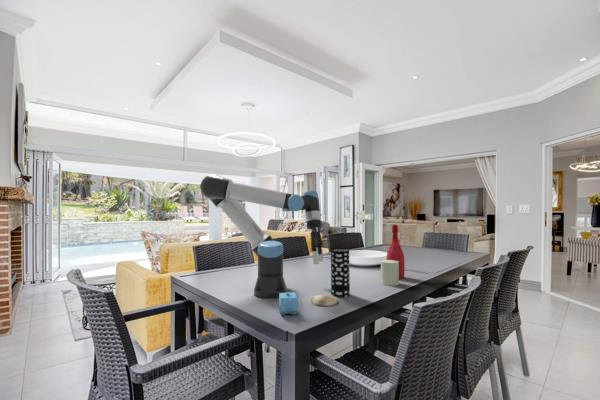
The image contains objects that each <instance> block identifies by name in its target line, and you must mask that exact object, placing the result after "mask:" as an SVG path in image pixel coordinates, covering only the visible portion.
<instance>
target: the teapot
mask: <svg viewBox="0 0 600 400" xmlns="http://www.w3.org/2000/svg"><path fill="white" fill-rule="evenodd" d="M278 303H279V306H278V307H279V312H280V314H281V315H282V316H285V315H286V314H287V315H288V314H291V315H294V316H295V315H296V314H298V296H297V294H296V292H290V291H287V292H286V293H279V297H278Z"/></svg>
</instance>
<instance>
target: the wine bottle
mask: <svg viewBox="0 0 600 400" xmlns="http://www.w3.org/2000/svg"><path fill="white" fill-rule="evenodd" d="M391 233H392V238H391V244H390V245H389V248H388V249H387V253H386V258H385V260H395V261H398V262H399V280H402V279H404V278H405V268H406V267H405V256H404V251H403V248H402V247H401V244H400V242H399V234H398V233H399V226H398V225H397V224H392V225H391Z"/></svg>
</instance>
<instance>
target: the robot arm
mask: <svg viewBox="0 0 600 400" xmlns="http://www.w3.org/2000/svg"><path fill="white" fill-rule="evenodd" d="M199 187H200V192H201V194H202V195H203V197H205V198H207V199H209V200H210V202H211V203H213V205H214V206H215V208H216V209H217V208H218V209H221V210H222V211H223V212H224V214H225V215H226V216H227V217H228V218H229V219H230V221H232V223H233V224H234V225H235V227H236V228H237V229H238V230H239V231H240V232H241V234H242V235H243V237H245V238H246V240H247V241H248V242H249V243H250V245H251V248H250V249H251V250H252V252H253V253H254V254H255V255H256V257H257V278H256V282H255V284H254V285H255V286H254V287H253V295H254V296H256V297H258V298H263V299H275V298H279V293H286V292H288V288H287V285H286V282H285V281H286V280H285V278H284V244H283V243H282V242H280V241H277V240H274V238H273V237H272V236H271V235H270V234H267V233H265V232H264V231H263V229H261V227H260V226H259V224H257V222H256V221H255V220H254V219H253V217H252V216H251V215H250V214H249V213H248V211H247V210H246V209H245V208H244V206H242V204H241V203H240V201H243V202H247V203H252V204H259V205H262V206H268V207H272V208H277V209H281V210H282V211H283V212H299V211H305V214H304V215H305V221H306V229H307V230H310V251H311V253H312V264H313V265H319V263H321V262H324V254H323V252H324V251H323V245H324V243H323V239H322V235H321V230H320V229H321V228H322V227H323V225H322V218H321V216H322V213H321V209H320V208H321V207H320V198H319V193H318V191H316V190H306V191H304V193H303V195H299V194H295V193H294V194H292V193H287V192H283V191H277V190H274V189H273V190H272V189H268V188H263V187H259V186H253V185H249V184H243V183H238V182H235V181H233V180H232V179H230V178H226V177H223V176H220V175H219V174H208V175H206V176H205V177H203V179H202V180H201V182H200V186H199Z"/></svg>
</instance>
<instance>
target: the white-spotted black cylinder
mask: <svg viewBox="0 0 600 400" xmlns="http://www.w3.org/2000/svg"><path fill="white" fill-rule="evenodd" d="M350 275H351V273H350V250H349V249H343V248H340V249H339V248H336V249H335V248H334V249H330V279H331V280H330V288H331V289H330V296H333V297H336V298H347V297H349V296H351V291H350V290H351V289H350V283H351V282H350V279H351V278H350Z"/></svg>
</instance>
